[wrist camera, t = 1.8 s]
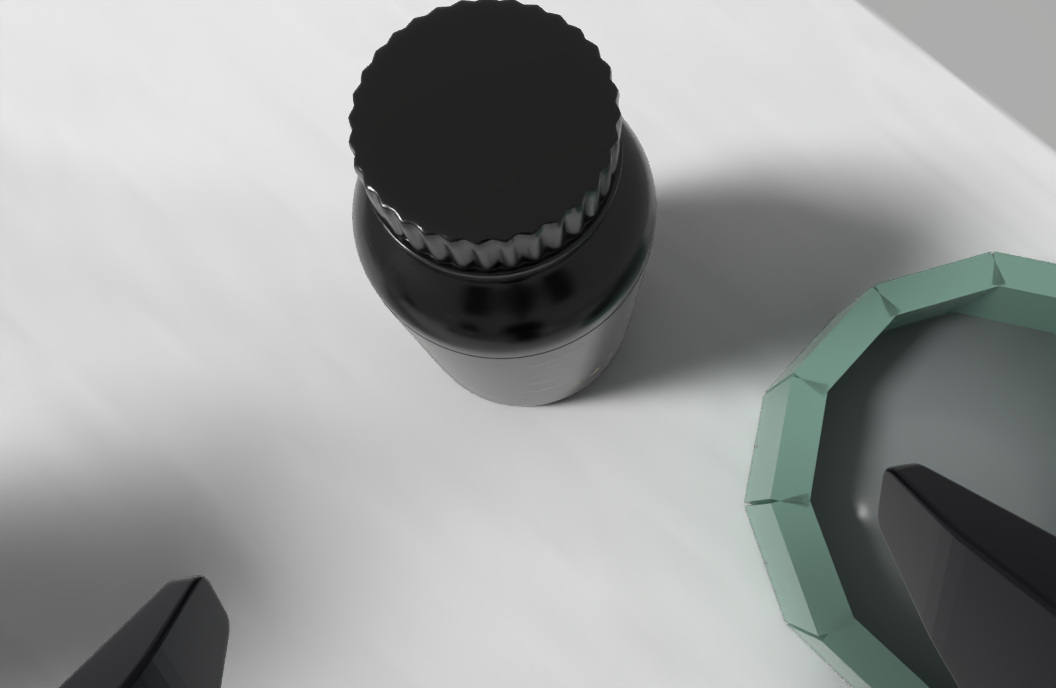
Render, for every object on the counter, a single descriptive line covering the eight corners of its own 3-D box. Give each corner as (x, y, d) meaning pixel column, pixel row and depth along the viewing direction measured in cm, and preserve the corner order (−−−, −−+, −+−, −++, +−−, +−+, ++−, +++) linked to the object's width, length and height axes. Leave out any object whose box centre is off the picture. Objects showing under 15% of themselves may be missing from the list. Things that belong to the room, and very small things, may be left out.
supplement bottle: (383, 303, 24) (208, 99, 13) (535, 178, 25) (502, -123, 13) (516, 457, 23) (455, 384, 11) (673, 318, 23) (770, 115, 12)
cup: (1032, 858, 19) (1114, 917, 16) (661, 505, 22) (674, 502, 19) (1304, 497, 21) (1422, 493, 18) (928, 214, 24) (978, 170, 21)
